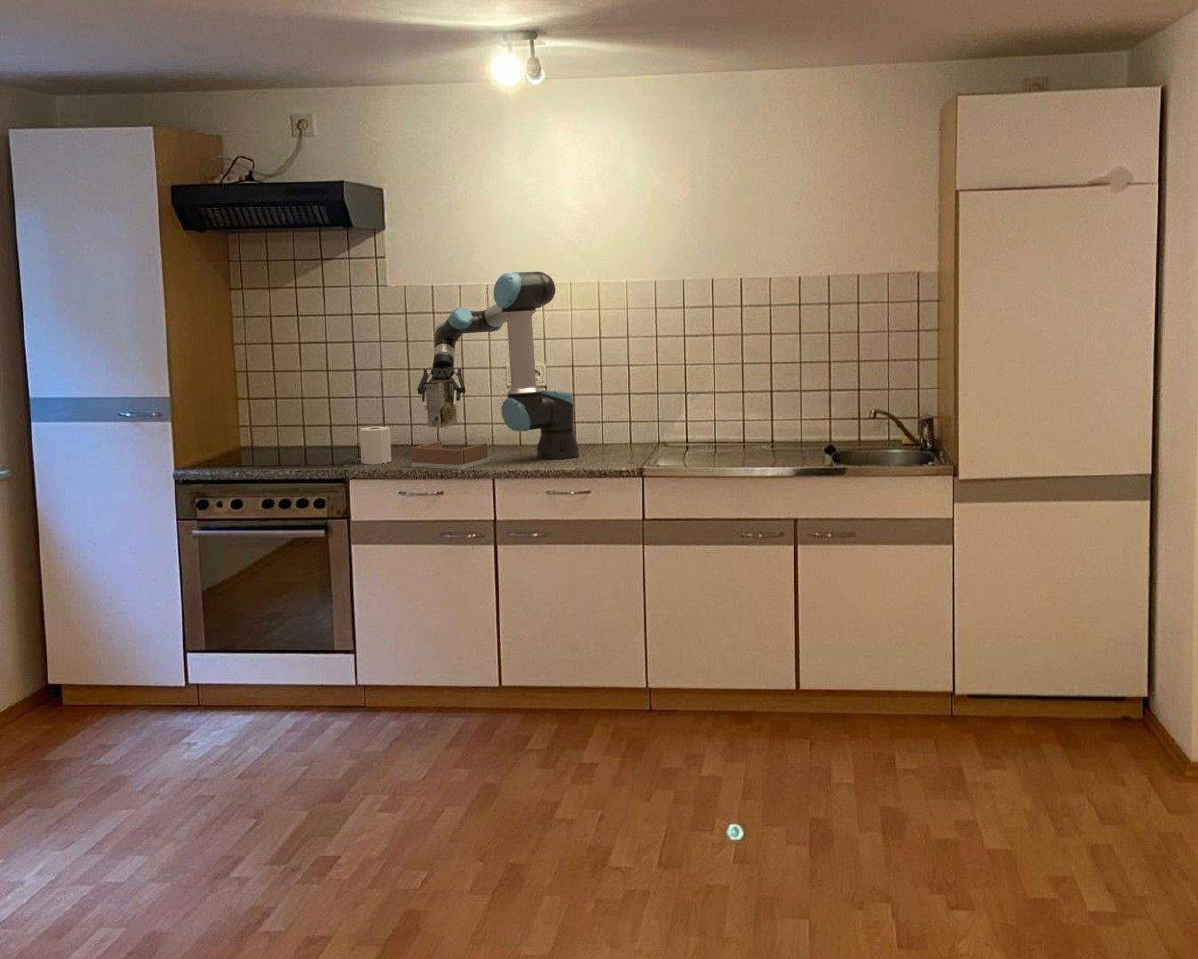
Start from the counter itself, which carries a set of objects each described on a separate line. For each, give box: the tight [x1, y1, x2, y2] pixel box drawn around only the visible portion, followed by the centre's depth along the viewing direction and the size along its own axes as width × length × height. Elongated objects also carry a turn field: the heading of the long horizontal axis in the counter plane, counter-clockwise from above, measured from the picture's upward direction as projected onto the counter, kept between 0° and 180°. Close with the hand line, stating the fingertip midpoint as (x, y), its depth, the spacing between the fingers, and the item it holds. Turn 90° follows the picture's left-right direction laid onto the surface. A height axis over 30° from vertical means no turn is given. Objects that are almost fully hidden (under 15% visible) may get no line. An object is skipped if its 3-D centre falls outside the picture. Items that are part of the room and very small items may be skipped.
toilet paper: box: [359, 426, 392, 465], centre depth 513 cm, size 10×10×12 cm
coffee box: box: [425, 380, 458, 429], centre depth 522 cm, size 9×6×16 cm
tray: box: [410, 440, 490, 470], centre depth 504 cm, size 20×18×6 cm
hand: (440, 407), depth 519 cm, fingers closed on coffee box, 10 cm apart
